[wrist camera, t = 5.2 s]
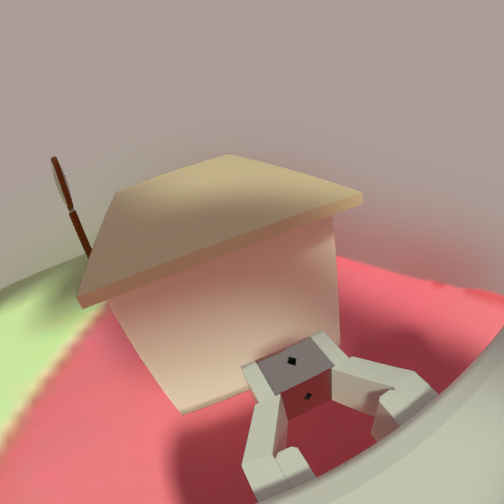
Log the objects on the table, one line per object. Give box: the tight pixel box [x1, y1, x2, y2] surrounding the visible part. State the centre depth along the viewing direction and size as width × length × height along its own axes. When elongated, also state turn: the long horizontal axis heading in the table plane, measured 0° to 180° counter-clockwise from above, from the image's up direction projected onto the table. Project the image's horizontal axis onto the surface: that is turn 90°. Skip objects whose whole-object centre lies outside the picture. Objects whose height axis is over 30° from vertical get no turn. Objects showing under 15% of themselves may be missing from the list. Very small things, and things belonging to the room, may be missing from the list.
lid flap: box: [76, 154, 363, 309], centre depth 22 cm, size 14×22×1 cm, turn 21°
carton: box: [106, 215, 340, 415], centre depth 26 cm, size 13×20×12 cm, turn 21°
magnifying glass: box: [51, 157, 92, 259], centre depth 38 cm, size 9×2×20 cm, turn 40°
